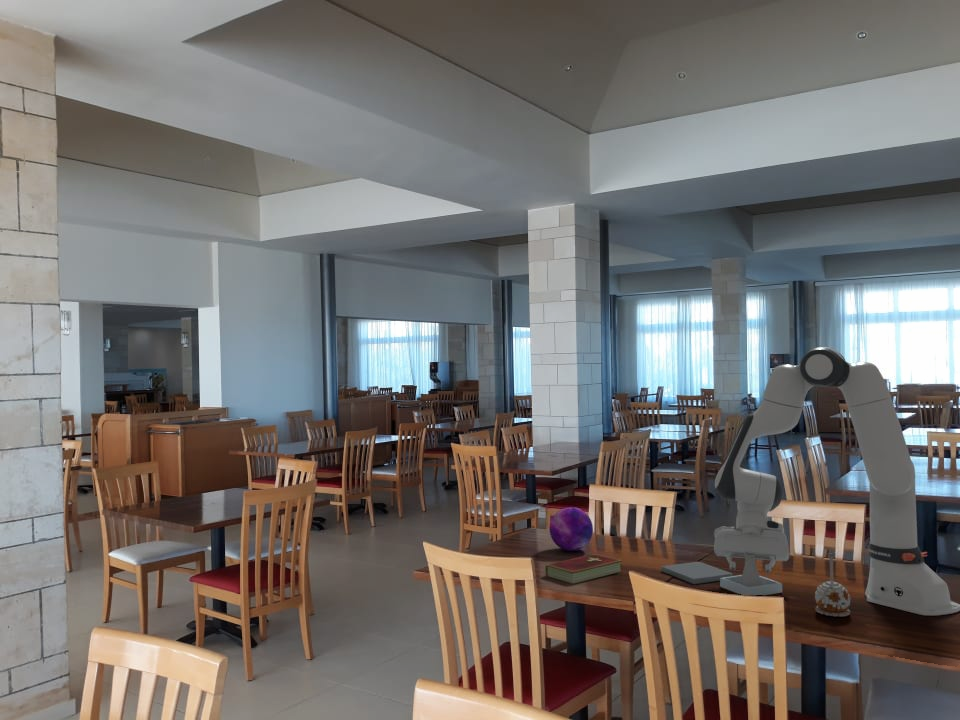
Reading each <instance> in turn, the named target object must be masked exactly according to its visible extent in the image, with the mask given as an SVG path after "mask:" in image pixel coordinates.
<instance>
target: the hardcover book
mask: <svg viewBox="0 0 960 720" xmlns="http://www.w3.org/2000/svg"><path fill="white" fill-rule="evenodd" d="M622 562H623V560H621V559H617V558H614V557H610V556H606V555H602V554H597V553H593V554H588V555H583V556H578V557H575V558H571V559H565V560H561V561H557V562H552V563H551V562H550V563H548V564H546V565H545V576H546V577H550V578H554V579H557V580H560V581H563V582H567V583H570V584H576V583H577V584H578V583H581V582H585V581H590V580H593V579H597V578H601V577H606V576H608V575H613V574H617V573H621V563H622Z"/></svg>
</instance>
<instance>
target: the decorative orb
mask: <svg viewBox="0 0 960 720" xmlns="http://www.w3.org/2000/svg"><path fill="white" fill-rule="evenodd" d="M593 533H594V527H593V522H592V519H591V517H590V516H589V514H587V513H586V512H585V511H584V510H583V509H580V508H578V507H574V506H567V507H563V508H561V509H559V510H558V511H556V513H555V514H554V515H553V516H552V517H551V520H550V523H549V534H550V538H551V539H552V541H553V543H554V544H555V545H556V546H557V547H558V548H560V549H561V550H563V551H567V552H576V551H577V552H578V551H580V550H582V549H584V548H585V547H586V546H587V545H589V543H590V542H591V540H592V537H593Z"/></svg>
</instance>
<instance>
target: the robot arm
mask: <svg viewBox="0 0 960 720" xmlns="http://www.w3.org/2000/svg"><path fill="white" fill-rule="evenodd" d="M813 387H820V388H828V387H829V388H830V387H831V388H838V389H839V390H840V391H841V393H842V395H843V398H844V400H845V404H846V406H847V410H848V414H849V416H850V420H851V423H852V426H853V430H854V432H855V433H854V434H855V436H856V440H857V443H858V447H859V451H860V454H861V458H862V461H863V465H864V468H865V472H866V476H867V479H868V481H869V536H870V537H869V538H870V540H869V543H868V556H869V558H870V560H869V561H870V562H869V574H868V580H867V586H866V589H865V592H864V595H865V596H866V601H867V602H869V603H874V604H877V605H881V606H884V607H885V606H886V607H890V608H892V609H893V608H894V609H897V610H900V611H905V612H909V613H913V614H915V615H916V614H917V615H921V616H943V615H949V614H954V613H958V612H960V604H959V603H957V602H955V601H953V600H951V594H950V591H949V590H950V589H949V586H948V584H947V583H946V581H944V580H943V579H942V578H941V577H940V576H939V575H938V574H937V573H936V572H935V571H934V570H933V569H932V568H930V567H929V565H927V564H926V563H925V559H924V558H925V557H928V552H927V551H924V552H922V551H921V548H920V547H919V546H918V525H917V524H918V521H917V519H918V518H917V496H916V493H917V492H916V469H915V464H914V462H913V460H912V458H911V455H910V452H909V448H908V445H907V443H906V439H905V436H904V433H903V430H902V426H901V424H900V421H899V420H900V419H899V417H898V414H897V411H896V407H895V405H894V404H895V403H894V401H893V398H892V396H891V393H890V390H889V387H888V385H887V383H886V380H885V379H884V377H883V374H882V373H881V371H880V369H879V368H878V366H876V364H873V363H871V362H867V361H858V362H854V363H850V362H848V361H846V358H845V357H844V355H842V354H841V353H840V352H839V351H837V350H836V349H833V348H832V347H828V346H819V347H814V348H811V349H809V350H808V351H806V352H805V353H804V354H803V355H802V357H801V360H800V362H799V364H797V365H794V364H780V365H777V366H776V367H775V368H773V370H772V372H771V373H770V376H769V378H768V380H767V383H766V385H765V389H764V391H763V395H762V399H761V402H760V404H759V406H758V408H757V409H756V410H755V411H754V412H753V413H749V414H747V415H746V416H745V417H744V419H743V421H742V422H741V424H740V426H739V428H738V430H737V432H736V435H735V436H734V439H733V441H732V443H731V446H730V448H729V450H728V452H727V455H726V457H725V459H724V461H723V462H722V463H723V464H722V465H721V467H720V469H719V470H718V472H717V474H716V475H715V480H714V490H715V491H716V493H717V494H718V495H719V497H720V498H721V499H722V500H726V501H727V500H728V501H732V502H737V504H736V506H737V507H736V508H737V513H736V514H737V515H736V521H735V526H723V525H722V526H720V527H717V528H715V530H714V532H713V536H714V537H713V538H714V543H713V551H714V554H715V555H716V557H725V558H726V560H727V563H728V564H729V570H730V571H731V570H732V571H736V565H737V564H736V561H733V560H732V559H733V558H736V559H737V558H738V559H745V556H744V553H754V554H756V556H755V560H763V561H769V563H767V564H765V565H764V570H765V571H764V572H765V573H766V574H767V573H768V574H772V568H773V567H774V566H775V564H776V562H787V561H788V560H789V559H790V551H789V543H788V538H787V535H786V534H785V529H784V525H783V524H782V523H781V522H778V521H775V520H771V519H769V518H768V513H769V512H772V511H774V510H775V509H776V508H778V507H779V506H780V504H781V502H782V497H783V484H782V483H781V481H780V479H779V478H778V476H776V475H773V474H769V473H765V472H761V471H756V470H751V469H746V468H743V467H741V464H742V462H743V459H744V457H745V455H746V452H747V450H748V448H749V446H750V444H751V443H752V442H753V441H754V440H755V439H757V438H760V437H765V436H771V435H773V436H774V435H778V434H784V433H787V432H789V431H791V430H793V429H794V428H795V427H796V426H797V425H798V423H799V420H800V418H801V415H802V412H803V408H804V404H805V400H806V396H807V394H808V391H810V390H811V389H812V388H813Z"/></svg>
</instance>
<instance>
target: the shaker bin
mask: <svg viewBox="0 0 960 720" xmlns="http://www.w3.org/2000/svg"><path fill="white" fill-rule="evenodd" d="M741 576H742V574H739V575H738V574H737V575H733V576H730V577H723V578H720V581H719V585H720V588H723V589H725V590H728V591H730V592H733V593H735V594H737V595H740V594H741V596H743V595H763V596H767V595H775V594H780V593H783V583H782V582H780V581H779V582H778V581H776V580H774V579H770V578H769V577H765V576H762V575H759V577H760V579H761V582H762V584H763V585H761V586H754V587H747V586H744V585H741V584H739V582H740V579H741Z"/></svg>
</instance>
